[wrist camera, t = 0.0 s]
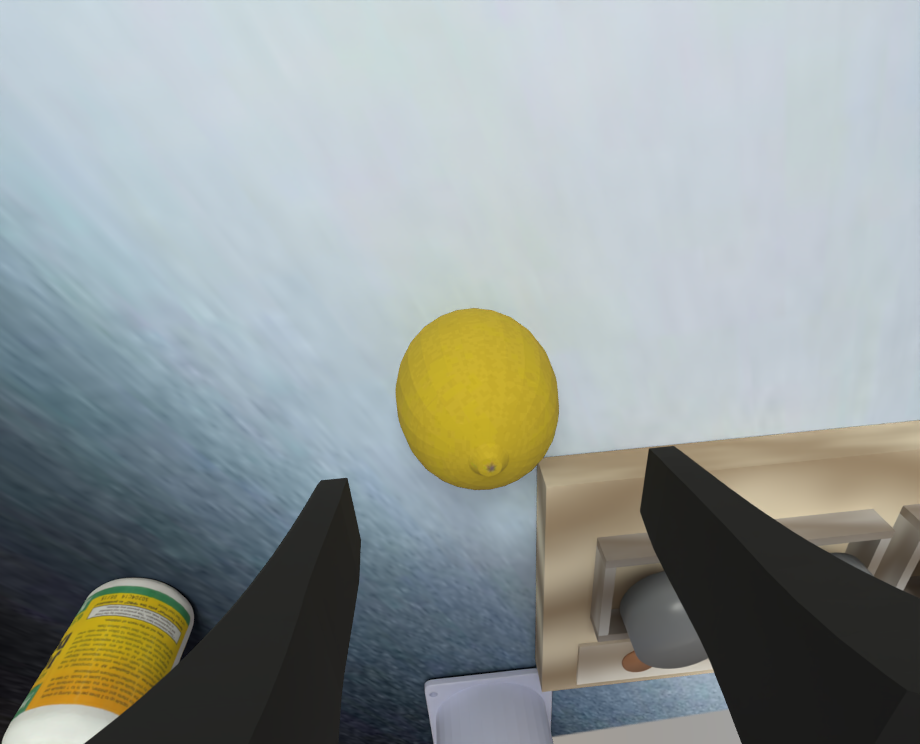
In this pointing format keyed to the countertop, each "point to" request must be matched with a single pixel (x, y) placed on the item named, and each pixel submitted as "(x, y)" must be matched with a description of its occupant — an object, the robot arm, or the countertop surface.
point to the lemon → (477, 399)
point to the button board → (752, 477)
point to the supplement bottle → (105, 662)
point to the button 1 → (660, 625)
